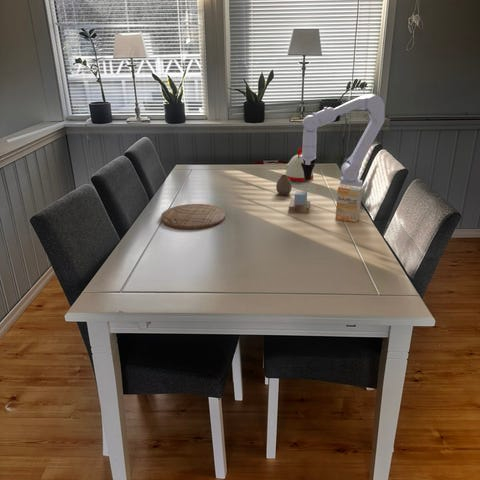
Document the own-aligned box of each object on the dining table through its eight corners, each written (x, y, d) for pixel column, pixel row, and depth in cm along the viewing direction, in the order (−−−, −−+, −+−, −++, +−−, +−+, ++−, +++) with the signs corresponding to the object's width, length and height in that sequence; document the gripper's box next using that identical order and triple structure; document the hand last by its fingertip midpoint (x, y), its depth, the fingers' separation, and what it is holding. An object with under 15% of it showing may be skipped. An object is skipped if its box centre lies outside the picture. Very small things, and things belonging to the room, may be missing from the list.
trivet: (216, 232, 163) (216, 228, 163) (151, 228, 168) (151, 224, 167) (231, 209, 186) (231, 205, 185) (173, 206, 190) (173, 202, 190)
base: (309, 207, 186) (310, 201, 185) (308, 214, 179) (308, 207, 178) (290, 206, 188) (290, 200, 187) (288, 213, 181) (288, 206, 180)
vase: (291, 191, 205) (292, 173, 202) (291, 196, 199) (292, 177, 195) (276, 191, 206) (276, 173, 202) (275, 196, 200) (276, 177, 196)
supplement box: (334, 219, 172) (337, 187, 167) (338, 215, 176) (340, 183, 171) (356, 223, 169) (359, 189, 164) (359, 219, 173) (362, 186, 167)
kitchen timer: (282, 180, 223) (283, 150, 217) (288, 172, 235) (289, 144, 229) (310, 182, 220) (312, 151, 213) (314, 174, 232) (316, 145, 226)
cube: (306, 202, 184) (307, 191, 182) (305, 205, 180) (305, 194, 178) (295, 201, 185) (296, 190, 183) (294, 204, 181) (294, 194, 179)
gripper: (301, 141, 193) (299, 172, 198) (298, 149, 180) (297, 181, 185) (317, 142, 192) (316, 173, 197) (316, 149, 179) (314, 182, 184)
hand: (308, 177), depth 191 cm, fingers open, 7 cm apart
